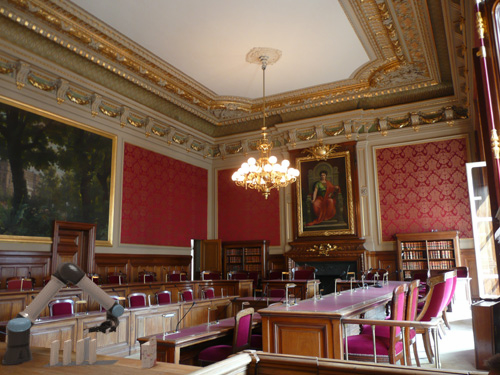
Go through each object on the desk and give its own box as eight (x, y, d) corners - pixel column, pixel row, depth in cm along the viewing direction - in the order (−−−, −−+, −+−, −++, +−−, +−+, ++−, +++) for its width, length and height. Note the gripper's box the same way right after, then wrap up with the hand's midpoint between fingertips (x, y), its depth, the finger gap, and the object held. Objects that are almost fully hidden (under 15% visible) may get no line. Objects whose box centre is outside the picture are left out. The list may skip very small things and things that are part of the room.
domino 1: (49, 365, 226) (50, 342, 228) (55, 362, 232) (55, 340, 234) (53, 365, 226) (54, 342, 228) (58, 362, 232) (59, 340, 234)
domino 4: (88, 364, 226) (89, 341, 228) (92, 361, 232) (93, 338, 234) (92, 364, 226) (92, 340, 228) (96, 361, 232) (96, 338, 234)
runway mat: (42, 367, 224) (42, 366, 224) (51, 363, 234) (51, 362, 234) (113, 365, 224) (113, 364, 224) (119, 360, 234) (119, 359, 234)
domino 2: (62, 365, 226) (63, 341, 228) (67, 362, 232) (68, 339, 234) (66, 365, 226) (67, 341, 228) (70, 362, 232) (71, 339, 234)
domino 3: (75, 364, 226) (76, 341, 228) (80, 361, 232) (81, 339, 234) (79, 364, 226) (79, 341, 228) (83, 361, 232) (84, 339, 234)
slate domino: (83, 361, 236) (83, 338, 238) (87, 358, 242) (87, 336, 244) (86, 361, 236) (86, 338, 238) (90, 358, 242) (90, 336, 244)
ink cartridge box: (148, 363, 225) (148, 335, 227) (156, 364, 224) (156, 335, 226) (140, 368, 217) (141, 338, 219) (149, 368, 216) (149, 338, 218)
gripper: (126, 331, 272) (115, 338, 251) (87, 333, 272) (74, 340, 251) (126, 319, 273) (115, 325, 252) (88, 321, 273) (74, 327, 252)
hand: (95, 332), depth 252 cm, fingers open, 13 cm apart
